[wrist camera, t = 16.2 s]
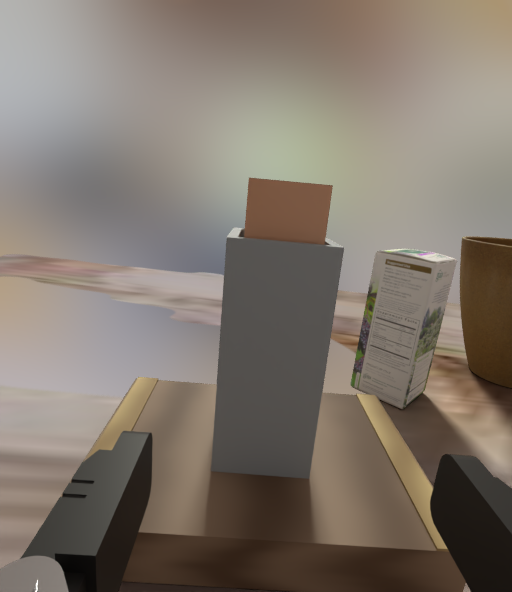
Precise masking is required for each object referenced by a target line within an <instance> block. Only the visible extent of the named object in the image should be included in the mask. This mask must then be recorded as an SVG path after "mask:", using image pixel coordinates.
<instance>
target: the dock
mask: <svg viewBox="0 0 512 592" xmlns="http://www.w3.org/2000/svg"><path fill="white" fill-rule="evenodd" d="M216 389H217V385H215V384H202V383H189V382H175V381H162V380H158V379H157V378H145V377H144V378H143V377H138V379H136V380H135V381H134V383H133V384H132V386H131V388H130V389H129V391H128V392H127V394H126V395H125V397H124V398H123V400H122V401H121V403H120V405H119V406H118V408H117V409H116V411H115V412H114V414H113V415H112V417H111V419H110V420H109V422H108V423H107V425H106V426H105V428H104V429H103V431H102V433H101V434H100V436H99V437H98V439H97V440H96V442H95V444H94V445H93V447H92V448H91V450H90V451H89V453H88V454H87V456H86V458H85V459H84V461H85V460H86V459H88V458H89V457H90V456H91V455H93V454H94V453H95V452H96V451H98V450H99V449H101V450H112V449H113V447H114V445H115V443H116V442H117V440H118V438H119V436H120V434H121V433H122V432H123V431H136V432H150V433H152V438H153V445H152V484H151V492H150V497H149V501H148V505H147V508H146V511H145V514H144V517H143V520H142V523H141V526H140V529H139V532H138V535H137V538H136V540H135V543H134V546H133V549H132V552H131V555H130V558H129V561H128V564H127V567H126V570H125V573H124V576H123V579H122V581H124V582H141V583H158V584H175V585H192V586H209V587H226V588H243V589H260V590H277V591H294V592H463V589H464V586H465V583H466V581H465V579H464V578H463V576H462V574H461V572H460V570H459V569H458V567H457V565H456V563H455V561H454V560H453V558H452V556H451V554H450V552H449V551H448V549H447V547H446V545H445V543H444V542H443V540H442V538H441V536H440V534H439V533H438V531H437V529H436V527H435V525H434V523H433V520H432V517H431V511H430V499H431V495H432V491H433V486H432V484H431V482H430V481H429V479H428V478H427V476H426V474H425V473H424V471H423V470H422V468H421V466H420V465H419V463H418V462H417V460H416V458H415V457H414V455H413V453H412V452H411V450H410V449H409V447H408V445H407V444H406V442H405V441H404V439H403V437H402V436H401V434H400V433H399V431H398V429H397V428H396V426H395V425H394V423H393V421H392V420H391V418H390V416H389V415H388V413H387V412H386V410H385V408H384V407H383V405H382V404H381V402H380V400H379V399H378V397H376V396H375V395H368V394H356V395H346V394H333V393H322V397H321V404H320V410H319V417H318V424H317V430H316V437H315V444H314V450H313V457H312V463H311V470H310V477H309V479H306V478H293V477H280V476H267V475H253V474H240V473H227V472H214V471H211V462H212V447H213V433H214V418H215V403H216ZM84 461H83V462H84ZM71 480H72V479H71ZM70 483H71V481H70ZM62 494H63V493H62ZM61 497H62V495H61Z"/></svg>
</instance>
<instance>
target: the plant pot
mask: <svg viewBox="0 0 512 592" xmlns="http://www.w3.org/2000/svg"><path fill="white" fill-rule="evenodd" d="M460 265H461V266H460V305H461V319H462V328H463V336H464V344H465V349H466V355H467V360H468V365H469V368H470V370H471V371H472V372H473V373H475V374H476V375H478V376H479V377H481V378H483V379H485V380H487V381H490V382H492V383H495V384H498V385H501V386H505V387H509V388H512V239H505V238H492V237H462V246H461V264H460Z"/></svg>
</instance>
